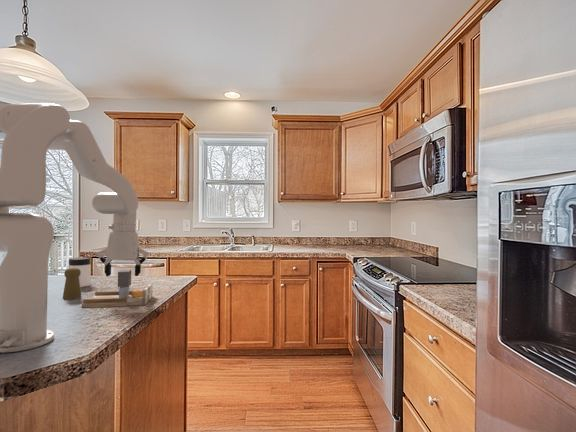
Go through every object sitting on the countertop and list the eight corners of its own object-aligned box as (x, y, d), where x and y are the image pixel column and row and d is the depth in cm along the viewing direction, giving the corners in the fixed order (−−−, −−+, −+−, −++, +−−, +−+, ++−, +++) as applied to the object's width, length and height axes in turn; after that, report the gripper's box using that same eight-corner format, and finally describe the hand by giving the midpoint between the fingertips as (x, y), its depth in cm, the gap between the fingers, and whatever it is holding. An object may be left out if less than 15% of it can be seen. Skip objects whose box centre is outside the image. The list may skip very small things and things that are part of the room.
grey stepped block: (126, 299, 119) (127, 272, 119) (115, 299, 118) (116, 272, 118) (132, 294, 126) (132, 269, 126) (121, 294, 125) (122, 269, 125)
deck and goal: (144, 305, 117) (144, 291, 117) (81, 307, 113) (81, 292, 113) (152, 296, 131) (153, 283, 131) (97, 297, 127) (97, 284, 127)
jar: (81, 283, 152) (82, 256, 152) (95, 284, 149) (95, 257, 149) (62, 286, 144) (63, 258, 144) (76, 288, 141) (76, 260, 141)
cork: (72, 299, 122) (72, 269, 122) (58, 298, 124) (58, 269, 124) (85, 296, 128) (85, 267, 128) (71, 295, 130) (72, 266, 130)
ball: (131, 290, 121) (129, 301, 120) (142, 291, 121) (140, 302, 121) (133, 288, 125) (132, 298, 124) (145, 289, 125) (143, 300, 125)
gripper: (94, 228, 117) (92, 277, 116) (147, 229, 120) (145, 277, 119) (102, 228, 124) (100, 274, 123) (151, 229, 127) (150, 274, 127)
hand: (122, 275), depth 121 cm, fingers open, 9 cm apart
